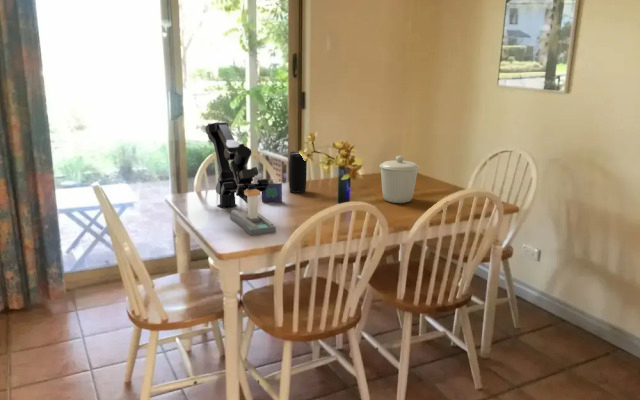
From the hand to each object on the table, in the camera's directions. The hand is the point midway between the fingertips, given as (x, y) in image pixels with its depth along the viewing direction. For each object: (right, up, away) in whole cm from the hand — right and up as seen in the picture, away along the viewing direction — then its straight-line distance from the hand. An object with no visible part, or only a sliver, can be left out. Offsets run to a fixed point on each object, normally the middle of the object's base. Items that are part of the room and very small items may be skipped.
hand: (250, 205), depth 211 cm
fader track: (0, -8, +1) cm, 8 cm away
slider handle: (+1, -6, 0) cm, 6 cm away
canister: (+63, +1, +40) cm, 75 cm away
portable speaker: (+16, +6, +54) cm, 56 cm away
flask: (+5, +1, +35) cm, 35 cm away
